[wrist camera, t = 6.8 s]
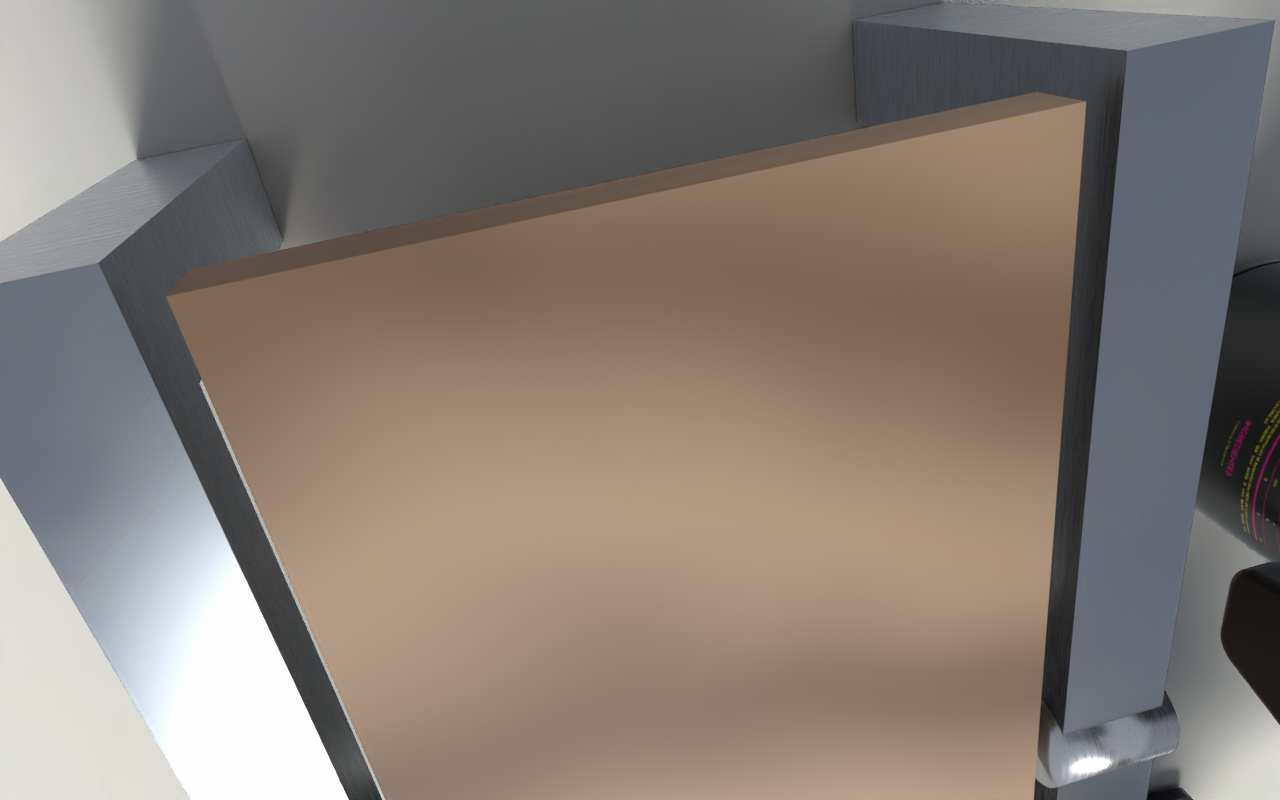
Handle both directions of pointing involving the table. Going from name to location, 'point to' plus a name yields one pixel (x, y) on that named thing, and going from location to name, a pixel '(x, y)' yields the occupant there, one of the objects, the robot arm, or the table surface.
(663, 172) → the trapdoor
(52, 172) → the table surface
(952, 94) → the trapdoor stand
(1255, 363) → the supplement container
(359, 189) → the table surface
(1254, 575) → the robot arm
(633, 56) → the table surface
